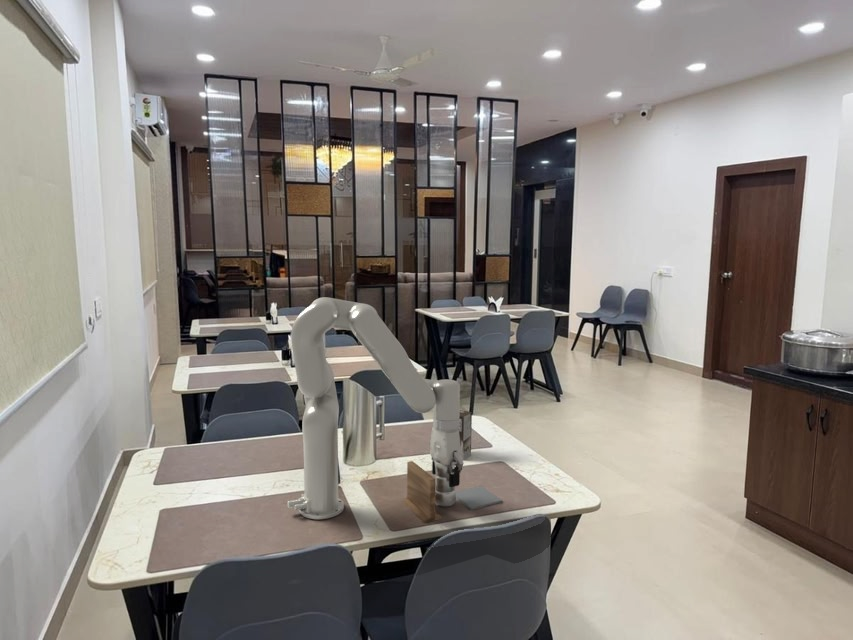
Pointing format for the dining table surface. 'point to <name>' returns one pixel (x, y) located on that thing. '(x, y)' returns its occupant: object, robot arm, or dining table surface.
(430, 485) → the wooden stand
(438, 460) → the plastic bottle
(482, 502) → the mat
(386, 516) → the dining table surface
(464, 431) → the coffee box
